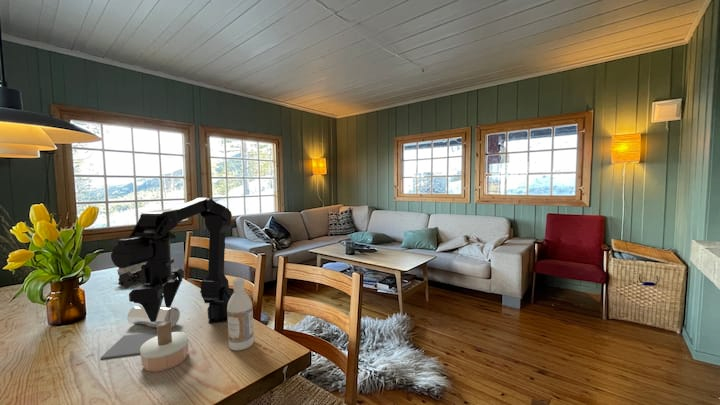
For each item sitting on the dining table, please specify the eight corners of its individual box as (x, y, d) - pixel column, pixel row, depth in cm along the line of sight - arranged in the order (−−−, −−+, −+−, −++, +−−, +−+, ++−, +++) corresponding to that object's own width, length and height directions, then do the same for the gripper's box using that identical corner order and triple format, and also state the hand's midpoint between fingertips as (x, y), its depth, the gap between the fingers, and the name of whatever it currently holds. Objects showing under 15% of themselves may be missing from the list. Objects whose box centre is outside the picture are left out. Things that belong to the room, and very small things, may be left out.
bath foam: (223, 349, 86) (220, 282, 85) (239, 337, 93) (237, 274, 91) (243, 353, 84) (240, 284, 83) (258, 340, 91) (256, 276, 89)
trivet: (166, 332, 96) (166, 330, 96) (149, 353, 85) (149, 351, 85) (124, 337, 94) (123, 335, 94) (100, 359, 82) (100, 357, 82)
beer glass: (131, 330, 101) (168, 333, 98) (122, 315, 98) (160, 318, 95) (147, 314, 107) (183, 316, 104) (139, 299, 104) (175, 302, 101)
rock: (120, 289, 135) (118, 257, 134) (114, 280, 148) (112, 250, 147) (158, 281, 146) (156, 251, 145) (149, 273, 158) (148, 245, 157)
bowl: (192, 347, 87) (191, 334, 87) (179, 368, 78) (179, 354, 77) (153, 352, 85) (152, 339, 85) (136, 374, 75) (135, 359, 75)
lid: (193, 333, 88) (192, 313, 87) (180, 354, 77) (179, 331, 76) (151, 338, 85) (150, 317, 85) (131, 361, 74) (130, 337, 74)
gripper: (142, 251, 87) (145, 303, 89) (101, 269, 69) (105, 334, 70) (183, 249, 90) (186, 299, 91) (155, 266, 72) (158, 329, 73)
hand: (161, 313), depth 81 cm, fingers open, 9 cm apart
